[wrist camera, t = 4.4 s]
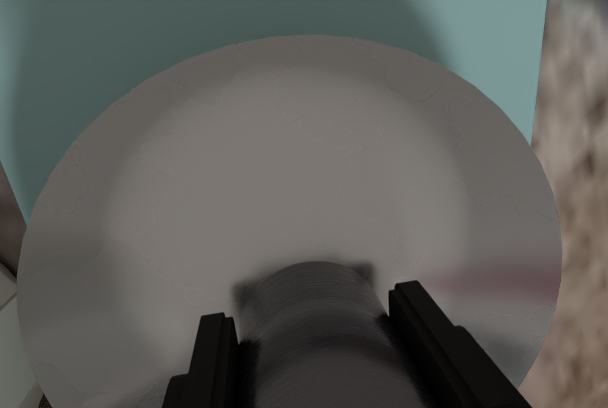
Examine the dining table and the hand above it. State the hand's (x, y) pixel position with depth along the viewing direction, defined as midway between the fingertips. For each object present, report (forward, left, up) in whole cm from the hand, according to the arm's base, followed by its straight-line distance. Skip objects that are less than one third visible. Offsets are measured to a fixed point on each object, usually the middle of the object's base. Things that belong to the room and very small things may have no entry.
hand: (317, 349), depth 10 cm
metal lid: (0, 0, -2) cm, 2 cm away
